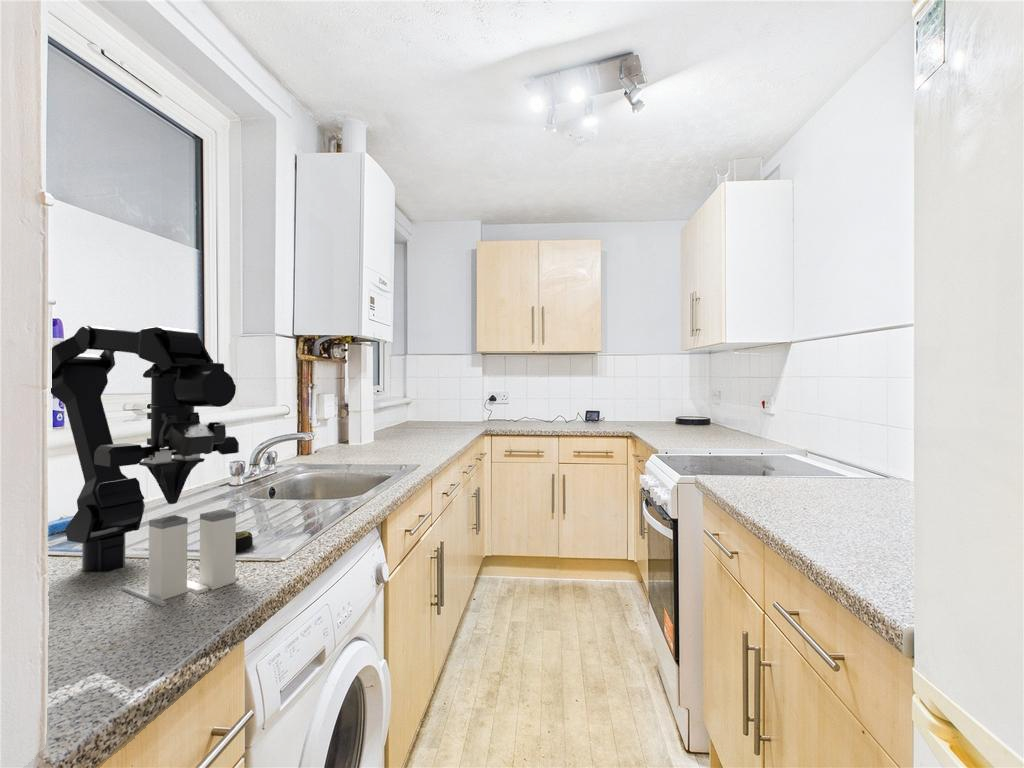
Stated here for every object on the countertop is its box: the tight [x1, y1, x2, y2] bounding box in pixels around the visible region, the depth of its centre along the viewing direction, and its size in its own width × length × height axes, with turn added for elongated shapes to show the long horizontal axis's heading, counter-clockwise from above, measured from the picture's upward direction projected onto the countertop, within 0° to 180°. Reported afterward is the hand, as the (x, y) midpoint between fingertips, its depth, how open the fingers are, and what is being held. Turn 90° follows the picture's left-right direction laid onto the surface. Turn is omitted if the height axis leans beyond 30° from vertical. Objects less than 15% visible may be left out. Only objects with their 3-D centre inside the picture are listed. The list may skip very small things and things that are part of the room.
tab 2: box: [199, 508, 237, 591], centre depth 77 cm, size 4×4×11 cm
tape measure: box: [236, 530, 254, 554], centre depth 94 cm, size 7×7×4 cm
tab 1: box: [148, 514, 188, 601], centre depth 73 cm, size 4×4×11 cm
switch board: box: [121, 564, 240, 607], centre depth 77 cm, size 14×11×2 cm
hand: (172, 503), depth 79 cm, fingers closed
